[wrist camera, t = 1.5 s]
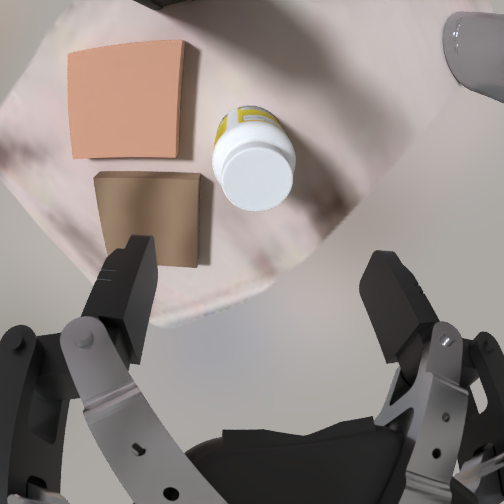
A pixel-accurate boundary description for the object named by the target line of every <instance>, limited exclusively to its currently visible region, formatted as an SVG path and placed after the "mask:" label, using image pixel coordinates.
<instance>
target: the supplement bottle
mask: <svg viewBox="0 0 504 504" xmlns="http://www.w3.org/2000/svg"><path fill="white" fill-rule="evenodd" d="M295 165H296V156H295V151H294V148H293V145H292V143H291V141H290V139H289V138H288V136H287V135H286V133H285V132H284V130H283V128H282V127H281V125H280V124H279V122H278V121H277V119H276V118H275V117H274V116H273V115H272V114H271V113H270V112H268V111H267V110H265V109H263V108H261V107H257V106H241V107H238V108H236V109H234V110H232V111H230V112H229V113H228V114H227V115H226V116H225V117H224V118H223V119H222V121H221V122H220V124H219V127H218V130H217V135H216V139H215V144H214V149H213V155H212V166H213V171H214V174H215V177H216V179H217V180H218V182H219V183H220V184H221V186H222V188H223V191H224V193H225V195H226V197H227V198H228V199H229V200H230V202H232V203H233V204H234V205H235V206H237V207H239V208H241V209H243V210H247V211H252V212H260V211H266V210H269V209H272V208H274V207H276V206H278V205H279V204H280V203H282V202H283V201H284V200H285V199H286V197H287V196H288V195H289V193H290V191H291V188H292V185H293V173H294V170H295Z"/></svg>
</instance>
